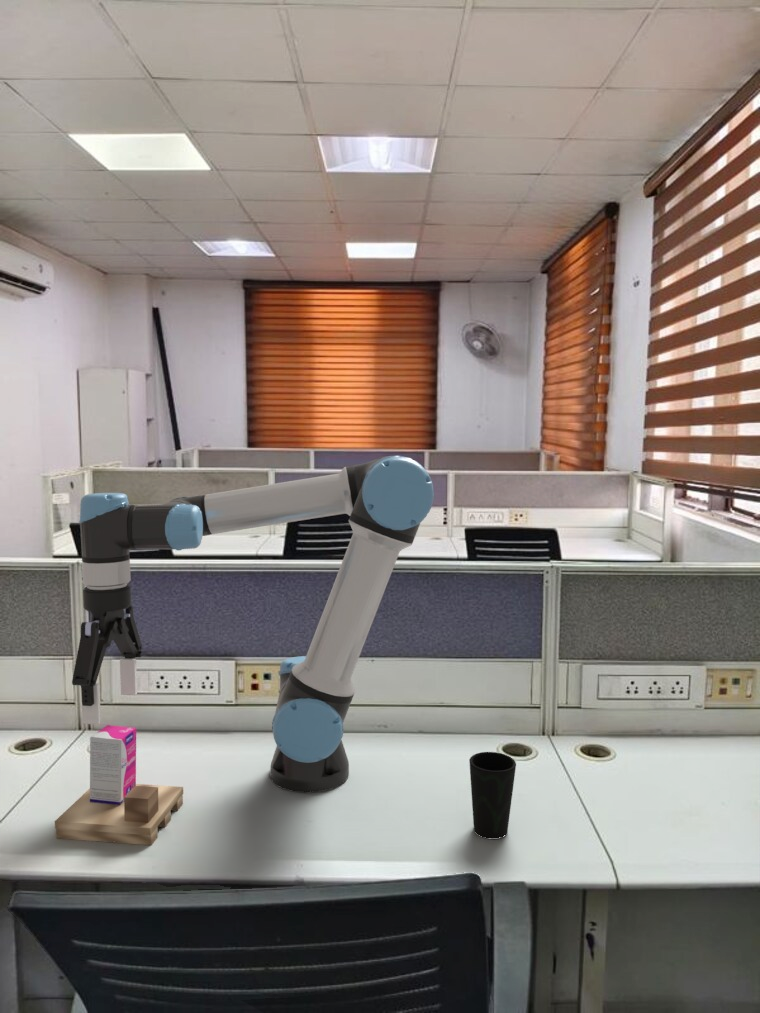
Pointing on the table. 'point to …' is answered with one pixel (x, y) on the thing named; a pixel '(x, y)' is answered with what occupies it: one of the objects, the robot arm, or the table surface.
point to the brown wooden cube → (141, 804)
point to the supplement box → (112, 764)
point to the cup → (491, 792)
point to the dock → (116, 819)
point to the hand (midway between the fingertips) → (111, 708)
